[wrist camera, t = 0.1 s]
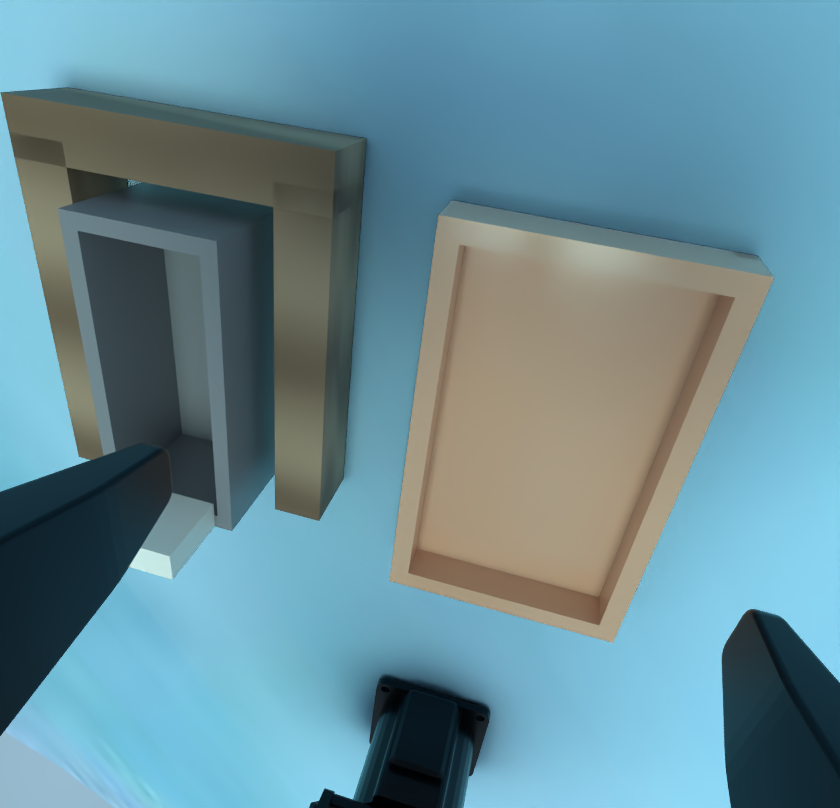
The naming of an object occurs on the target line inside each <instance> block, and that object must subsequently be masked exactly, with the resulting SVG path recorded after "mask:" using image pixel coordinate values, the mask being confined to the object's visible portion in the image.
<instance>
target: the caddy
mask: <svg viewBox="0 0 840 808" xmlns="http://www.w3.org/2000/svg"><path fill="white" fill-rule="evenodd" d="M57 209H58V214H59V219H60V225H61V230H62V236H63V241H64V246H65V252H66V257H67V262H68V268H69V273H70V278H71V284H72V289H73V295H74V300H75V305H76V311H77V316H78V321H79V327H80V332H81V338H82V343H83V348H84V354H85V359H86V364H87V370H88V375H89V380H90V386H91V391H92V397H93V402H94V407H95V413H96V418H97V423H98V429H99V434H100V439H101V445H102V450H103V456H104V455H107V454H110V453H113V452H116V451H118V450H121V449H124V448H127V447H130V446H133V445H136V444H139V443H148V444H152V445H156V446H159V447H163V448H165V449H166V450H167V451H168V453H169V456H170V465H171V475H172V485H173V490H172V495H171V498H170V501H169V503H168V504H167V506H166V508H165V509H164V511H163V513H162V514H161V516H160V517H159V519H158V521H157V522H156V524H155V526H154V527H153V529H152V530H151V532H150V534H149V535H148V537H147V538H146V540H145V542H144V543H143V545H142V547H141V548H140V550H139V551H138V553H137V555H136V556H135V558H134V560H133V561H132V563H131V564H130V566H129V567H131V568H135V569H138V570H141V571H145V572H148V573H152V574H155V575H158V576H162V577H165V578H169V579H172V580H173V579H174V577H175V576H176V575H177V574H178V572H179V571H180V570H181V569H182V567H183V566H184V565H185V564H186V562H187V561H188V560H189V559H190V557H191V556H192V555H193V553H194V552H195V551H196V550H197V548H198V547H199V546H200V545H201V543H202V542H203V541H204V540H205V538H206V537H207V536H208V535H209V533H210V532H211V531H212V529H213V528H214V527H215V526H216V527H220V528H223V529H227V530H230V531H232V530H233V529H234V528H235V526H236V525H237V524H238V522H239V521H240V520H241V518H242V517H243V516H244V514H245V513H246V512H247V510H248V509H249V508H250V506H251V505H252V504H253V502H254V501H255V500H256V498H257V497H258V495H259V494H260V493H261V491H262V490H263V489H264V487H265V486H266V485H267V483H268V482H269V481H270V479H271V478H272V477H273V475H274V474H275V396H274V234H273V207H271V206H265V205H260V204H255V203H250V202H245V201H239V200H234V199H229V198H224V197H218V196H213V195H208V194H203V193H198V192H192V191H187V190H182V189H177V188H172V187H166V186H161V185H156V184H151V183H145V182H143V183H140V184H137V185H133V186H130V187H127V188H124V189H120V190H117V191H114V192H110V193H107V194H104V195H100V196H97V197H94V198H90V199H87V200H84V201H80V202H77V203H74V204H70V205H67V206H64V207H60V208H57Z"/></svg>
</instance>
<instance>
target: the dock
mask: <svg viewBox="0 0 840 808" xmlns="http://www.w3.org/2000/svg"><path fill="white" fill-rule="evenodd" d="M1 96H2V101H3V106H4V110H5V115H6V120H7V124H8V129H9V134H10V138H11V143H12V147H13V152H14V157H15V161H16V166H17V171H18V175H19V180H20V185H21V189H22V194H23V199H24V203H25V208H26V213H27V217H28V222H29V226H30V231H31V236H32V240H33V245H34V250H35V254H36V259H37V264H38V268H39V273H40V278H41V282H42V287H43V292H44V296H45V301H46V306H47V310H48V315H49V319H50V324H51V329H52V333H53V338H54V343H55V347H56V352H57V357H58V361H59V366H60V371H61V375H62V380H63V385H64V389H65V394H66V398H67V403H68V408H69V412H70V417H71V422H72V426H73V431H74V436H75V440H76V445H77V450H78V454H79V457H82V458H86V459H89V460H93V459H96V458H98V457H101V456H103V450H102V445H101V439H100V434H99V429H98V423H97V418H96V413H95V407H94V402H93V397H92V391H91V386H90V380H89V375H88V370H87V364H86V359H85V354H84V348H83V343H82V338H81V332H80V327H79V321H78V316H77V311H76V305H75V300H74V295H73V289H72V284H71V278H70V273H69V268H68V262H67V257H66V252H65V246H64V241H63V236H62V230H61V225H60V219H59V214H58V209H57V208H60V207H64V206H67V205H70V204H74V203H77V202H80V201H84V200H87V199H90V198H94V197H97V196H100V195H104V194H107V193H110V192H114V191H117V190H120V189H124V188H127V187H128V186H127V179H130V180H135V181H140V182H145V183H151V184H156V185H161V186H166V187H172V188H177V189H182V190H187V191H192V192H198V193H203V194H208V195H213V196H218V197H224V198H229V199H234V200H239V201H245V202H250V203H255V204H260V205H265V206H271V207H273V234H274V396H275V509H277V510H281V511H284V512H288V513H292V514H296V515H299V516H303V517H307V518H311V519H314V520H318V521H319V520H320V518H321V517H322V515H323V513H324V511H325V510H326V508H327V506H328V504H329V503H330V501H331V499H332V498H333V496H334V494H335V492H336V491H337V489H338V487H339V485H340V484H341V482H342V480H343V476H344V461H345V447H346V432H347V417H348V403H349V388H350V373H351V359H352V344H353V330H354V315H355V300H356V286H357V271H358V257H359V242H360V227H361V213H362V198H363V184H364V169H365V154H366V140H367V139H366V138H361V137H355V136H349V135H343V134H337V133H331V132H325V131H320V130H314V129H308V128H302V127H296V126H290V125H284V124H279V123H273V122H267V121H261V120H255V119H249V118H243V117H238V116H232V115H226V114H220V113H214V112H208V111H202V110H197V109H191V108H185V107H179V106H173V105H167V104H161V103H155V102H150V101H144V100H138V99H132V98H126V97H120V96H114V95H109V94H103V93H97V92H91V91H85V90H79V89H73V88H68V87H66V88H53V89H40V90H27V91H14V92H1Z"/></svg>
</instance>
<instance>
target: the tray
mask: <svg viewBox="0 0 840 808" xmlns="http://www.w3.org/2000/svg"><path fill="white" fill-rule="evenodd" d="M773 280H774V276H773V275H772V274H771V272H770V271H769V270H768V269H767V267H766V266H765V265H764V263H763V262H762V261H761V260H760V258H759V257H758V256H756V255H750V254H745V253H739V252H734V251H728V250H723V249H717V248H712V247H706V246H701V245H695V244H690V243H684V242H679V241H673V240H668V239H662V238H657V237H651V236H646V235H640V234H635V233H629V232H624V231H618V230H613V229H607V228H602V227H596V226H591V225H585V224H580V223H574V222H569V221H563V220H558V219H552V218H547V217H541V216H536V215H530V214H525V213H519V212H514V211H508V210H503V209H497V208H492V207H486V206H481V205H475V204H470V203H464V202H459V201H453V200H452V201H451V202H450V203H449V204H448V205H447V206H446V207H445V208H444V209H443V210H442V211H441V212H440V214H439V215H438V221H437V228H436V236H435V243H434V251H433V258H432V266H431V273H430V281H429V288H428V296H427V303H426V310H425V318H424V325H423V333H422V340H421V348H420V355H419V363H418V370H417V378H416V385H415V393H414V400H413V408H412V415H411V423H410V430H409V438H408V445H407V453H406V460H405V468H404V475H403V483H402V490H401V497H400V505H399V512H398V520H397V527H396V535H395V542H394V550H393V557H392V565H391V572H390V580H389V581H392V582H395V583H399V584H402V585H406V586H410V587H413V588H417V589H421V590H424V591H428V592H431V593H435V594H439V595H442V596H446V597H449V598H453V599H457V600H460V601H464V602H468V603H471V604H475V605H478V606H482V607H486V608H489V609H493V610H496V611H500V612H504V613H507V614H511V615H515V616H518V617H522V618H525V619H529V620H533V621H536V622H540V623H543V624H547V625H551V626H554V627H558V628H562V629H565V630H569V631H572V632H576V633H580V634H583V635H587V636H590V637H594V638H598V639H601V640H605V641H609V642H612V643H613V641H614V639H615V637H616V635H617V632H618V630H619V628H620V626H621V623H622V621H623V619H624V617H625V614H626V612H627V610H628V607H629V605H630V603H631V601H632V598H633V596H634V594H635V592H636V589H637V587H638V585H639V583H640V580H641V578H642V576H643V574H644V571H645V569H646V567H647V565H648V562H649V560H650V558H651V555H652V553H653V551H654V549H655V546H656V544H657V542H658V540H659V537H660V535H661V533H662V531H663V528H664V526H665V524H666V522H667V519H668V517H669V515H670V513H671V510H672V508H673V506H674V503H675V501H676V499H677V497H678V494H679V492H680V490H681V488H682V485H683V483H684V481H685V479H686V476H687V474H688V472H689V470H690V467H691V465H692V463H693V460H694V458H695V456H696V454H697V451H698V449H699V447H700V445H701V442H702V440H703V438H704V436H705V433H706V431H707V429H708V427H709V424H710V422H711V420H712V418H713V415H714V413H715V411H716V408H717V406H718V404H719V402H720V399H721V397H722V395H723V393H724V390H725V388H726V386H727V384H728V381H729V379H730V377H731V375H732V372H733V370H734V368H735V366H736V363H737V361H738V359H739V356H740V354H741V352H742V350H743V347H744V345H745V343H746V341H747V338H748V336H749V334H750V332H751V329H752V327H753V325H754V323H755V320H756V318H757V316H758V314H759V311H760V309H761V307H762V304H763V302H764V300H765V298H766V295H767V293H768V291H769V289H770V286H771V284H772V282H773Z"/></svg>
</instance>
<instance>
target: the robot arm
mask: <svg viewBox="0 0 840 808" xmlns="http://www.w3.org/2000/svg"><path fill="white" fill-rule="evenodd" d="M172 490H173V485H172V475H171V465H170V456H169V453H168V451H167V450H166V449H165V448H163V447H159V446H156V445H152V444H148V443H139V444H136V445H133V446H130V447H127V448H124V449H121V450H118V451H116V452H113V453H110V454H107V455H104V456H101V457H98V458H96V459H93V460H90V461H87V462H84V463H81V464H78V465H76V466H73V467H70V468H67V469H64V470H61V471H58V472H56V473H53V474H50V475H47V476H44V477H41V478H38V479H36V480H33V481H30V482H27V483H24V484H21V485H18V486H16V487H13V488H10V489H7V490H4V491H1V492H0V736H1V735H2V733H3V732H4V731H5V729H6V728H7V727H8V726H9V724H10V723H11V722H12V720H13V719H14V718H15V717H16V715H17V714H18V713H19V711H20V710H21V709H22V707H23V706H24V705H25V704H26V702H27V701H28V700H29V698H30V697H31V696H32V694H33V693H34V692H35V691H36V689H37V688H38V687H39V685H40V684H41V683H42V682H43V680H44V679H45V678H46V676H47V675H48V674H49V672H50V671H51V670H52V669H53V667H54V666H55V665H56V663H57V662H58V661H59V659H60V658H61V657H62V656H63V654H64V653H65V652H66V650H67V649H68V648H69V647H70V645H71V644H72V643H73V641H74V640H75V639H76V637H77V636H78V635H79V634H80V632H81V631H82V630H83V628H84V627H85V626H86V624H87V623H88V622H89V621H90V619H91V618H92V617H93V615H94V614H95V613H96V612H97V610H98V609H99V608H100V606H101V605H102V604H103V602H104V601H105V600H106V599H107V597H108V596H109V595H110V593H111V592H112V591H113V589H114V588H115V587H116V585H117V584H118V583H119V581H120V580H121V578H122V577H123V575H124V574H125V572H126V571H127V569H128V568H129V566H130V564H131V563H132V561H133V560H134V558H135V556H136V555H137V553H138V551H139V550H140V548H141V547H142V545H143V543H144V542H145V540H146V538H147V537H148V535H149V534H150V532H151V530H152V529H153V527H154V526H155V524H156V522H157V521H158V519H159V517H160V516H161V514H162V513H163V511H164V509H165V508H166V506H167V504H168V503H169V501H170V498H171V495H172ZM722 684H723V716H724V747H725V764H726V774H727V782H728V789H729V796H730V803H731V808H840V682H839V681H838V680H837V679H836V678H835V677H834V676H833V675H832V673H831V672H830V671H829V670H828V669H827V668H826V667H825V665H824V664H823V663H822V662H821V661H820V660H819V659H818V657H817V656H816V655H815V654H814V653H813V652H812V651H811V649H810V648H809V647H808V646H807V645H806V644H805V643H804V641H803V640H802V639H801V638H800V637H799V636H798V635H797V633H796V632H795V631H794V630H793V629H792V628H791V627H790V625H789V624H788V623H787V622H786V621H785V620H784V619H783V618H781V617H780V616H778V615H775V614H771V613H767V612H764V611H760V610H756V609H750V610H748V611H747V612H745V614H744V615H743V616H742V618H741V620H740V621H739V623H738V624H737V626H736V628H735V629H734V631H733V632H732V634H731V636H730V637H729V639H728V640H727V642H726V644H725V646H724V649H723V653H722ZM489 719H490V711H489V710H488V709H487V708H485V707H483V706H479V705H476V704H473V703H469V702H466V701H463V700H459V699H456V698H453V697H449V696H446V695H443V694H439V693H436V692H433V691H429V690H426V689H423V688H419V687H416V686H413V685H409V684H406V683H403V682H399V681H396V680H393V679H389V678H381V679H380V680H379V682H378V685H377V689H376V696H375V704H374V711H373V719H372V726H371V733H370V744H371V745H370V748H369V751H368V754H367V757H366V761H365V764H364V767H363V770H362V773H361V776H360V779H359V782H358V786H357V789H356V792H355V795H354V798H353V800H352V799H349V798H346V797H343V796H340V795H337V794H334V793H335V792H334V791H331V790H328V789H324V791H323V793H322V796H321V798H320V800H319V801H317V802H312V803H311V804H310V807H309V808H463V807H464V801H465V795H466V789H467V783H468V778H469V776H471V775H472V774H473V771H474V768H475V765H476V762H477V759H478V755H479V752H480V749H481V746H482V742H483V739H484V736H485V733H486V730H487V726H488V723H489Z"/></svg>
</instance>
